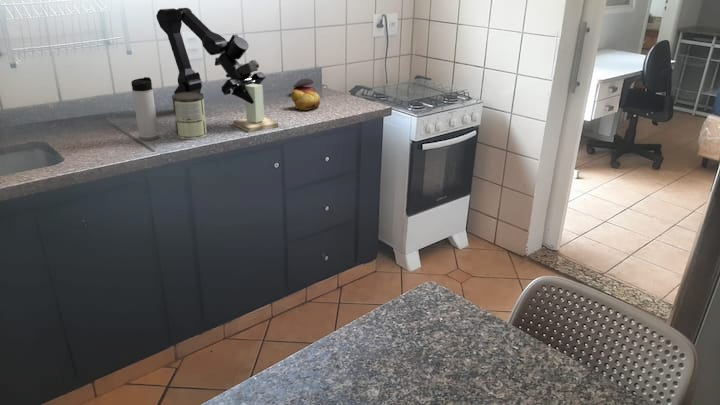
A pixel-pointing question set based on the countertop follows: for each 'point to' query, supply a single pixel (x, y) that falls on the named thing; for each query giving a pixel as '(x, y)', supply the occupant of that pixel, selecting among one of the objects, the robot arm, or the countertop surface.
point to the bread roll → (305, 99)
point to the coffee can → (189, 115)
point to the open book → (255, 124)
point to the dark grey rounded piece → (304, 85)
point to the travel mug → (145, 109)
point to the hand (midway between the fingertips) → (257, 101)
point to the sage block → (255, 103)
